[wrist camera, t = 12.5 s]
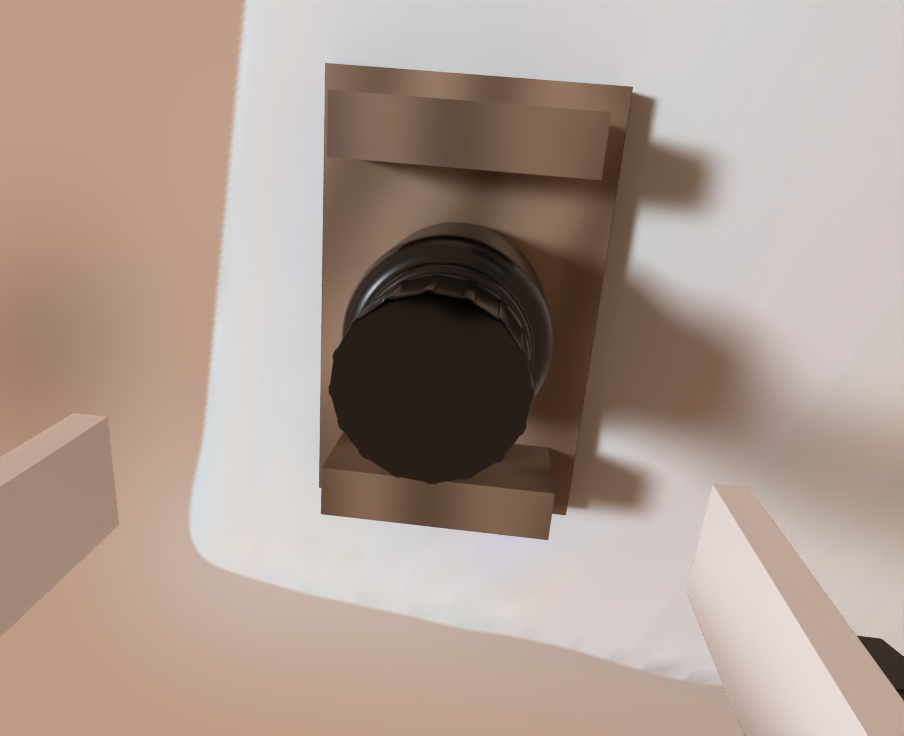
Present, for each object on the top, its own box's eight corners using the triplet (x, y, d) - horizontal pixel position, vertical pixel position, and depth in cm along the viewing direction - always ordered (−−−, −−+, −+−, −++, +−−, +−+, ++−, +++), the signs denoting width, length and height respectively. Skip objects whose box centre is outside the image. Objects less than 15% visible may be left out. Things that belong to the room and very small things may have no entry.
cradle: (626, 90, 30) (658, 72, 24) (563, 501, 37) (575, 570, 31) (333, 67, 30) (290, 43, 24) (326, 474, 37) (290, 536, 31)
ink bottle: (330, 315, 33) (237, 397, 21) (435, 176, 30) (392, 186, 19) (475, 428, 34) (460, 562, 23) (587, 304, 31) (634, 386, 20)
